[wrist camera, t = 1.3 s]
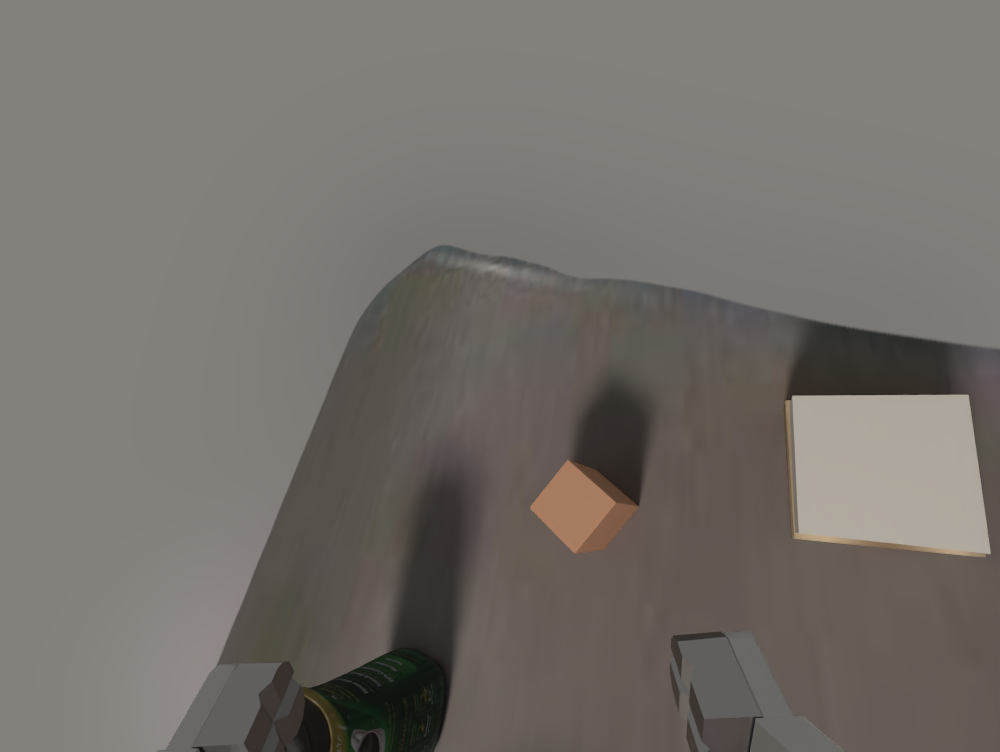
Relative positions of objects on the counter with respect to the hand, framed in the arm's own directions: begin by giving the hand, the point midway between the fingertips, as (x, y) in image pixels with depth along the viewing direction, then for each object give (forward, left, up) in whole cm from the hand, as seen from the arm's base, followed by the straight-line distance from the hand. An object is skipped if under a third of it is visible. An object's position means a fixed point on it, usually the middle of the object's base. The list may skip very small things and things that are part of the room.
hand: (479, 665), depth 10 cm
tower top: (-12, -8, -31) cm, 34 cm away
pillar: (+8, -4, -35) cm, 36 cm away
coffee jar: (+26, +16, -35) cm, 46 cm away
